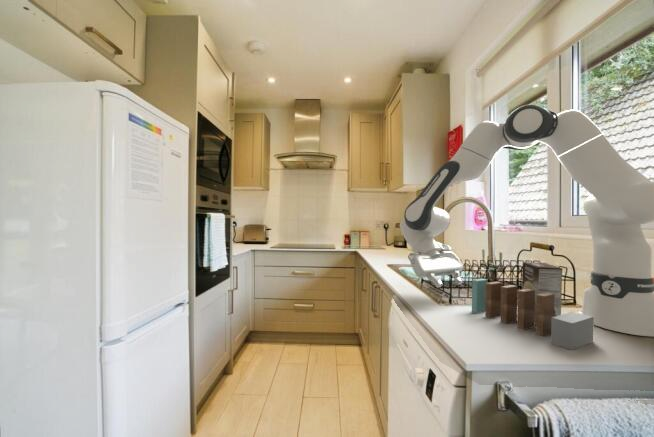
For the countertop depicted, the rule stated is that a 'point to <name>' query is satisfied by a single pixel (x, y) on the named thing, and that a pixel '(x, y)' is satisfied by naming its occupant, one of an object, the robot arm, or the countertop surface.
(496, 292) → the domino
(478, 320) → the countertop surface
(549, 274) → the coffee box
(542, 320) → the domino
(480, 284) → the domino
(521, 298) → the domino
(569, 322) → the end block
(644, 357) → the countertop surface
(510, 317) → the domino
